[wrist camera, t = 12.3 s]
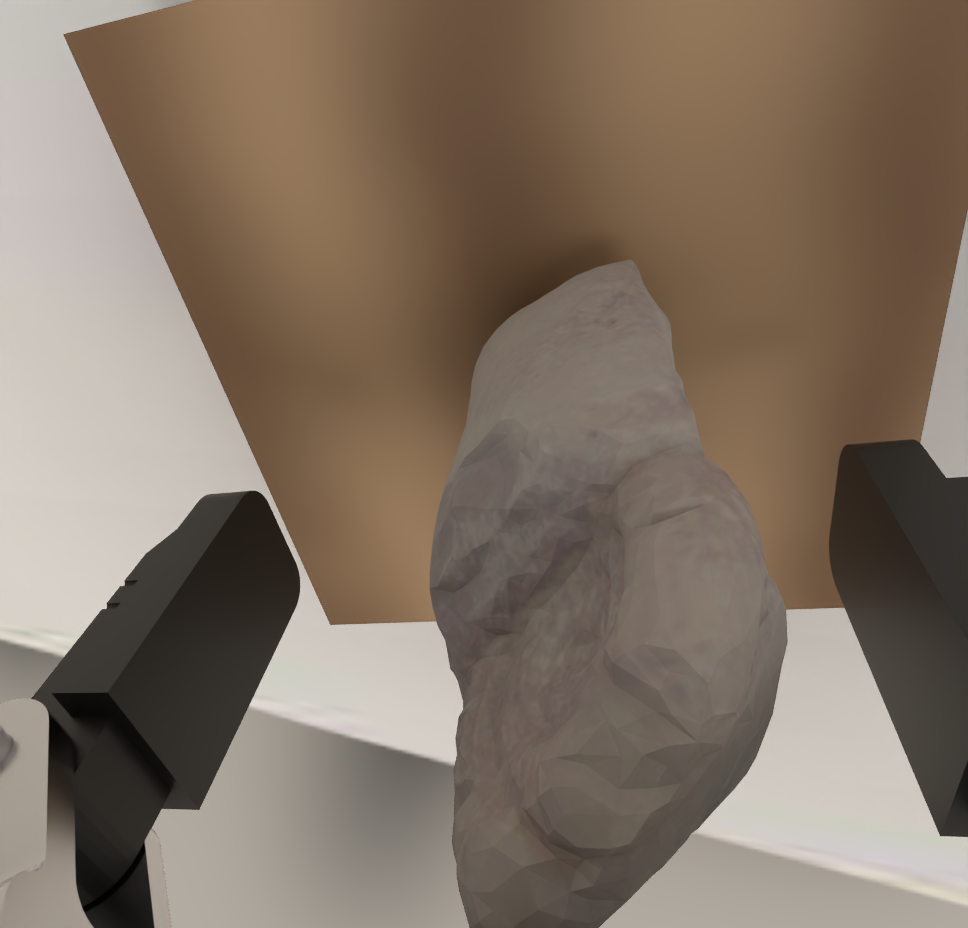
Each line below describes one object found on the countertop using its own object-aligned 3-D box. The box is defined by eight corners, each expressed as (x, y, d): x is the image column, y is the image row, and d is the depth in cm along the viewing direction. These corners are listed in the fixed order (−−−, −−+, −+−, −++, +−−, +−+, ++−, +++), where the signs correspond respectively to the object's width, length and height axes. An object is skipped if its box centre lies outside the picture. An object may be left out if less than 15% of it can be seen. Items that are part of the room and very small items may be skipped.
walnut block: (945, -169, 10) (1055, -221, 8) (846, 523, 18) (886, 605, 16) (159, 27, 13) (63, 34, 11) (360, 551, 21) (330, 625, 19)
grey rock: (648, 487, 15) (724, 1112, 6) (488, 477, 15) (369, 1053, 7) (694, 210, 11) (971, 779, 3) (486, 205, 12) (247, 702, 3)
